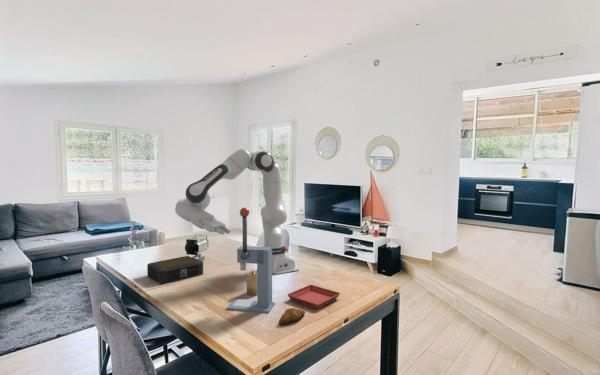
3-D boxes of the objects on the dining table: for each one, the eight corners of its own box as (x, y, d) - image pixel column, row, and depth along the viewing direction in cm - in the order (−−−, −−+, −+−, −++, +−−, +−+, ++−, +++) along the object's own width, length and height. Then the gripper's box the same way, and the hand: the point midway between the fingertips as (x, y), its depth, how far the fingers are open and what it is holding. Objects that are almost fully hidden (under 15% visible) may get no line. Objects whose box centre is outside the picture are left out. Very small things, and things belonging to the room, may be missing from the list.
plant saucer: (310, 290, 167) (310, 283, 167) (340, 299, 156) (340, 292, 156) (286, 301, 153) (286, 294, 153) (318, 312, 142) (318, 304, 142)
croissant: (298, 312, 141) (298, 300, 141) (309, 317, 136) (309, 305, 136) (273, 322, 132) (273, 310, 131) (285, 328, 127) (285, 315, 127)
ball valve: (197, 266, 206) (196, 238, 205) (184, 265, 208) (184, 237, 206) (210, 258, 223) (210, 232, 222) (198, 257, 225) (198, 232, 224)
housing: (246, 294, 160) (246, 271, 160) (250, 291, 165) (250, 268, 164) (256, 295, 159) (256, 272, 159) (259, 291, 164) (259, 268, 164)
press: (226, 309, 144) (225, 250, 142) (234, 300, 153) (234, 245, 152) (268, 313, 140) (268, 252, 139) (274, 303, 150) (274, 246, 148)
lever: (238, 260, 139) (238, 208, 138) (242, 257, 143) (241, 207, 142) (247, 260, 139) (247, 208, 137) (251, 258, 143) (250, 207, 141)
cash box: (161, 285, 173) (160, 271, 172) (146, 276, 187) (146, 263, 187) (204, 275, 190) (204, 261, 190) (188, 267, 205) (188, 255, 204)
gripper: (199, 214, 160) (223, 228, 159) (213, 214, 181) (235, 226, 179) (192, 226, 160) (217, 239, 158) (207, 225, 180) (229, 237, 179)
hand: (226, 233), depth 169 cm, fingers open, 8 cm apart
